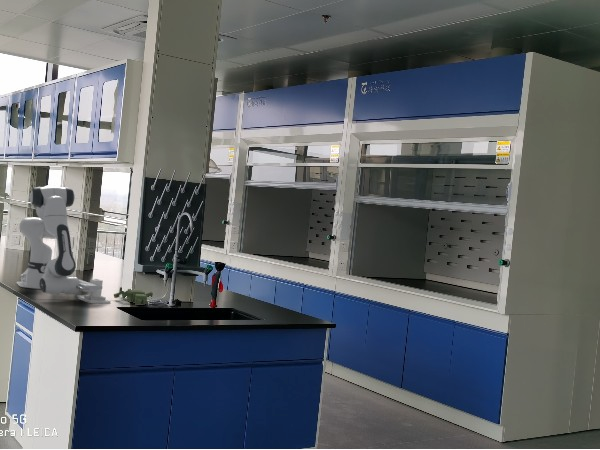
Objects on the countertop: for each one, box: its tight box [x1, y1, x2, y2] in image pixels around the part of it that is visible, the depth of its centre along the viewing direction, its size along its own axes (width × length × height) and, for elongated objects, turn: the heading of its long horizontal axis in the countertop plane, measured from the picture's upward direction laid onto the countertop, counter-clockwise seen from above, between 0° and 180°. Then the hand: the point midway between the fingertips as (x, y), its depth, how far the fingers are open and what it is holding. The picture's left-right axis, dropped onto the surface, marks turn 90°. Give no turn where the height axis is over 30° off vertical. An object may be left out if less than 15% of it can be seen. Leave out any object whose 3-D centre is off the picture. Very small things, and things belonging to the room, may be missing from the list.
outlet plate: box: [78, 294, 111, 304], centre depth 358 cm, size 14×11×3 cm
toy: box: [113, 286, 154, 305], centre depth 372 cm, size 21×8×30 cm
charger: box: [88, 278, 104, 297], centre depth 358 cm, size 4×4×10 cm
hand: (97, 286), depth 358 cm, fingers open, 8 cm apart
